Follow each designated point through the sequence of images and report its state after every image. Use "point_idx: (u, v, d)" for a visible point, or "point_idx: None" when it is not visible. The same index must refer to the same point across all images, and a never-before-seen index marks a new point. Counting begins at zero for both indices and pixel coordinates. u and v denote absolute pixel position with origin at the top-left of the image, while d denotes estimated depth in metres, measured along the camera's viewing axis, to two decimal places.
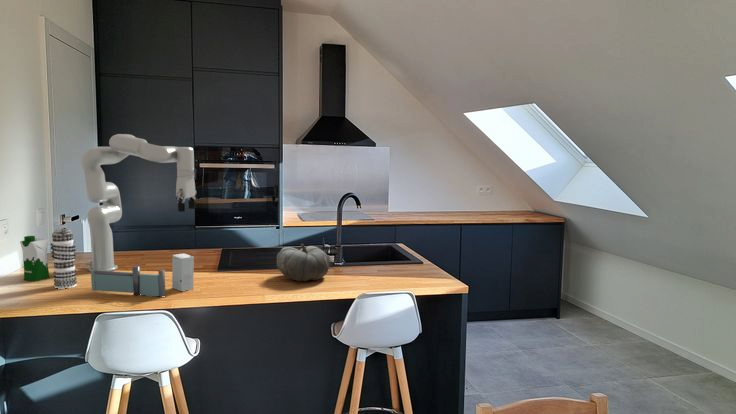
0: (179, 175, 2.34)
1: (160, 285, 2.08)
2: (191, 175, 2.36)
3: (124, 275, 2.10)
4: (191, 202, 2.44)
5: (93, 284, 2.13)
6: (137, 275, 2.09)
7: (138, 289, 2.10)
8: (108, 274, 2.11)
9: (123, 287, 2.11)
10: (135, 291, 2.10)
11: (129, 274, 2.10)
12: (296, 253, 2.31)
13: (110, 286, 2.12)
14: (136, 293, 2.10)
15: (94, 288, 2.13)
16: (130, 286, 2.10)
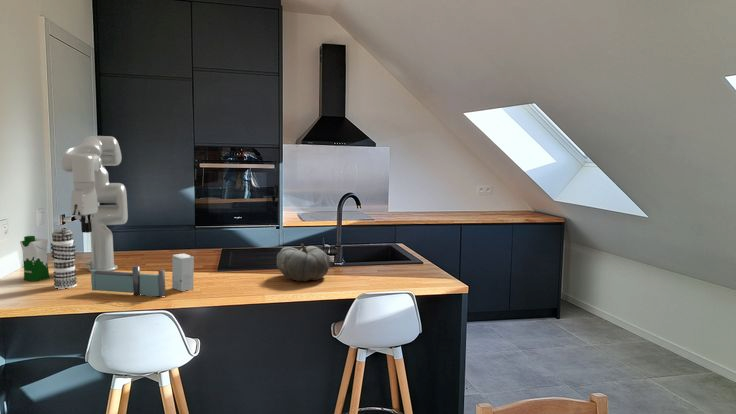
0: (75, 188, 1.98)
1: (160, 285, 2.08)
2: (89, 188, 1.99)
3: (124, 275, 2.10)
4: None
5: (93, 284, 2.13)
6: (137, 275, 2.09)
7: (138, 289, 2.10)
8: (108, 274, 2.11)
9: (123, 287, 2.11)
10: (135, 291, 2.10)
11: (129, 274, 2.10)
12: (296, 253, 2.31)
13: (110, 286, 2.12)
14: (136, 293, 2.10)
15: (94, 288, 2.13)
16: (130, 286, 2.10)
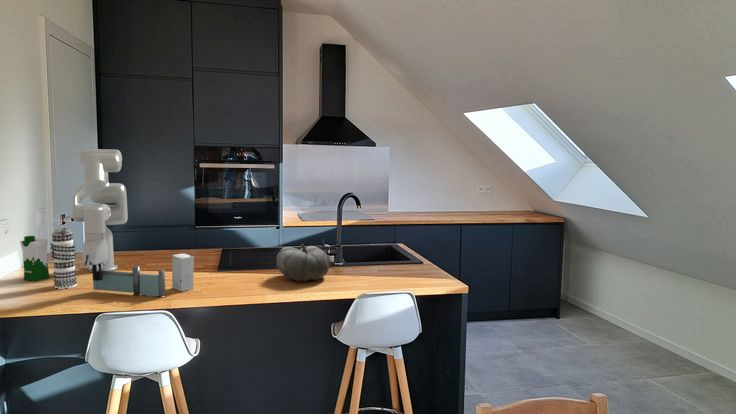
0: (86, 239, 2.05)
1: (160, 285, 2.08)
2: (100, 239, 2.06)
3: (124, 275, 2.10)
4: None
5: (94, 283, 2.14)
6: (137, 275, 2.09)
7: (138, 289, 2.10)
8: (109, 274, 2.12)
9: (124, 286, 2.11)
10: (135, 291, 2.10)
11: (129, 274, 2.10)
12: (296, 253, 2.31)
13: (110, 286, 2.12)
14: (136, 293, 2.10)
15: (95, 287, 2.14)
16: (130, 286, 2.11)
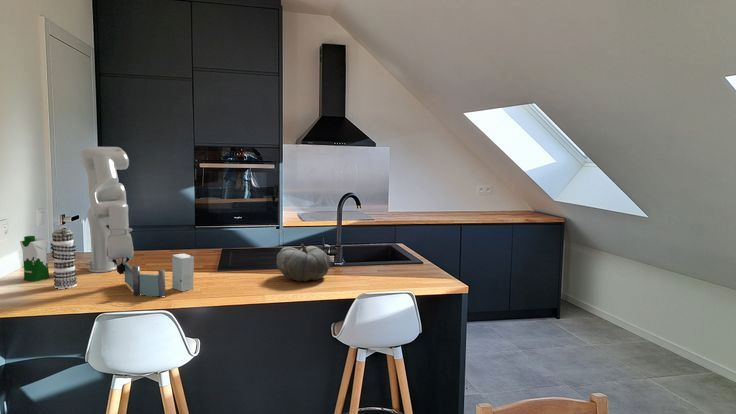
0: None
1: (160, 285, 2.08)
2: (117, 235, 2.15)
3: (131, 273, 2.13)
4: (121, 266, 2.21)
5: (125, 276, 2.25)
6: (137, 275, 2.09)
7: (138, 289, 2.10)
8: (128, 269, 2.19)
9: (132, 284, 2.15)
10: (135, 291, 2.10)
11: None
12: (296, 253, 2.31)
13: (129, 281, 2.20)
14: (136, 293, 2.10)
15: (125, 280, 2.25)
16: None
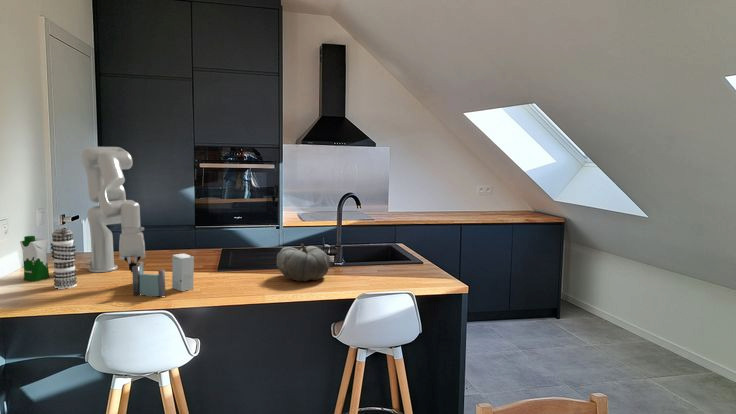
0: None
1: (160, 285, 2.08)
2: (127, 233, 2.18)
3: None
4: None
5: None
6: (137, 275, 2.09)
7: (138, 289, 2.10)
8: None
9: None
10: (135, 291, 2.10)
11: None
12: (296, 253, 2.31)
13: None
14: (136, 293, 2.10)
15: None
16: None
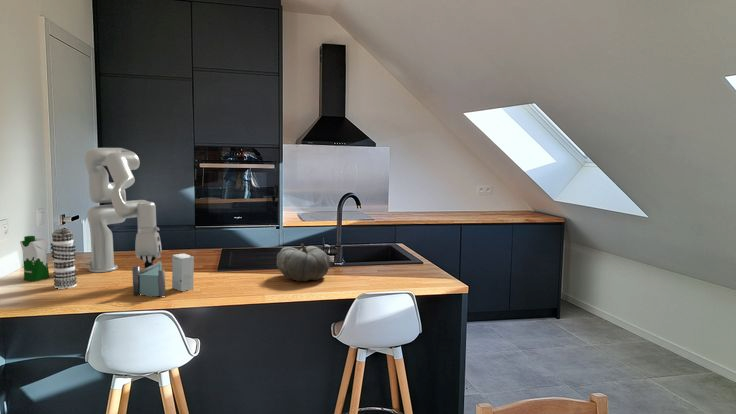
0: None
1: (160, 285, 2.08)
2: (140, 232, 2.20)
3: None
4: None
5: None
6: (137, 275, 2.09)
7: (138, 289, 2.10)
8: None
9: None
10: (135, 291, 2.10)
11: None
12: (296, 253, 2.31)
13: None
14: (136, 293, 2.10)
15: None
16: None
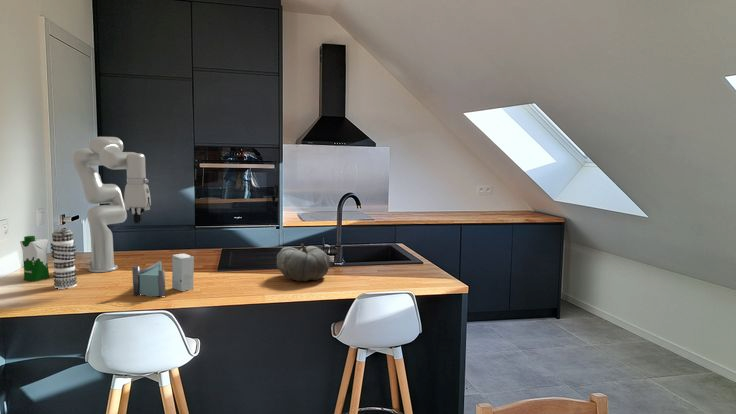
0: None
1: (160, 285, 2.08)
2: (129, 183, 2.20)
3: None
4: None
5: None
6: (137, 275, 2.09)
7: (138, 289, 2.10)
8: None
9: None
10: (135, 291, 2.10)
11: None
12: (296, 253, 2.31)
13: None
14: (136, 293, 2.10)
15: None
16: None
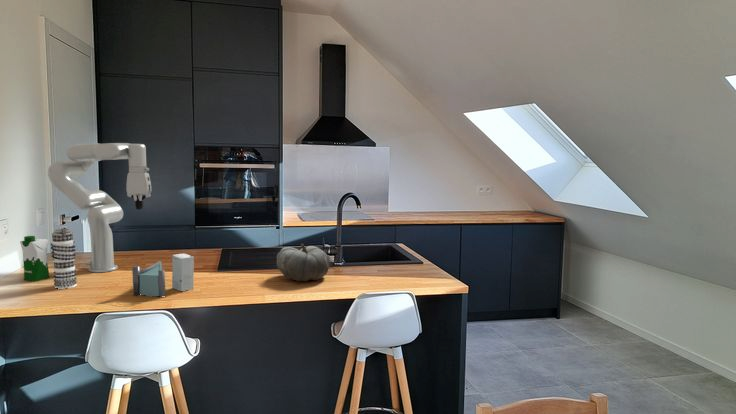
0: None
1: (160, 285, 2.08)
2: (131, 172, 2.35)
3: None
4: None
5: None
6: (137, 275, 2.09)
7: (138, 289, 2.10)
8: None
9: None
10: (135, 291, 2.10)
11: None
12: (296, 253, 2.31)
13: None
14: (136, 293, 2.10)
15: None
16: None
